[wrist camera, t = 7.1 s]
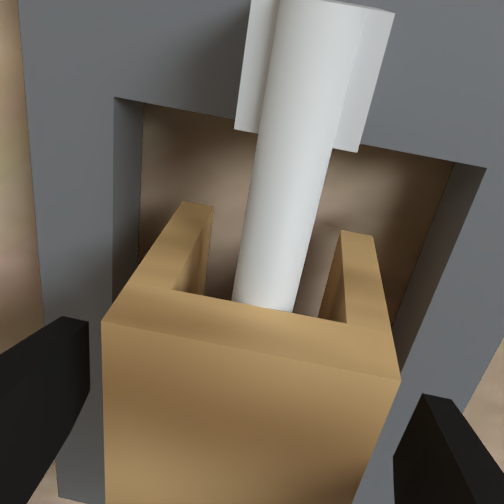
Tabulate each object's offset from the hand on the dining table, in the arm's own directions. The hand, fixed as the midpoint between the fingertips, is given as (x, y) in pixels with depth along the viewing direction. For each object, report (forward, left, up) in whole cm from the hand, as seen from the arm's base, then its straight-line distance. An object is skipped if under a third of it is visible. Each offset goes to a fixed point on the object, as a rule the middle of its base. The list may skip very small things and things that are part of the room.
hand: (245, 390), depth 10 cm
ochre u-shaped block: (0, 0, -3) cm, 3 cm away
